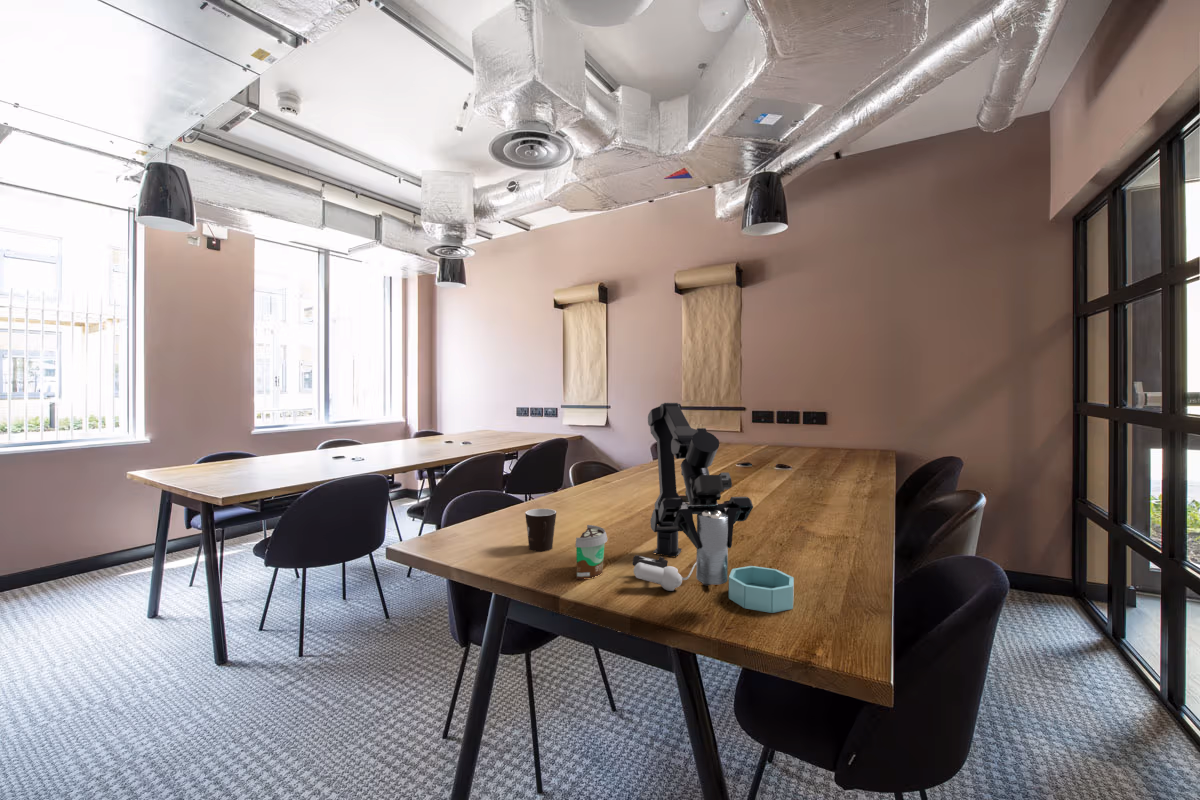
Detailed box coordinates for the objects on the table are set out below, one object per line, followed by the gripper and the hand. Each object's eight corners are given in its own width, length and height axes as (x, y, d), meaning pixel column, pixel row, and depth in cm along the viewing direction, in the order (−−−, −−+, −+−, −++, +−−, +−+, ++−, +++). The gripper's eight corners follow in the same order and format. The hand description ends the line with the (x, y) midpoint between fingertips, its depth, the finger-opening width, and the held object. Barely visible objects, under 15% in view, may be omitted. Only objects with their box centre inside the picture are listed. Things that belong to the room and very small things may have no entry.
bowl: (734, 583, 111) (734, 563, 111) (794, 592, 106) (794, 571, 106) (725, 605, 99) (725, 583, 99) (792, 616, 94) (792, 593, 94)
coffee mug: (530, 542, 140) (530, 508, 140) (559, 544, 139) (559, 509, 139) (517, 555, 129) (517, 518, 129) (549, 557, 128) (549, 519, 127)
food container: (601, 584, 110) (602, 540, 110) (575, 581, 111) (575, 538, 111) (611, 565, 122) (611, 525, 122) (587, 563, 123) (587, 524, 123)
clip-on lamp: (704, 588, 115) (630, 569, 117) (710, 562, 116) (636, 543, 117) (712, 605, 103) (630, 583, 105) (719, 575, 104) (637, 554, 105)
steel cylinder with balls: (699, 571, 100) (700, 506, 100) (729, 575, 98) (730, 509, 98) (693, 581, 95) (694, 513, 95) (724, 586, 93) (725, 516, 92)
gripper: (661, 458, 99) (675, 527, 88) (749, 458, 101) (773, 525, 90) (653, 489, 107) (664, 556, 96) (735, 488, 109) (755, 553, 98)
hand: (714, 547), depth 95 cm, fingers closed on steel cylinder with balls, 6 cm apart
